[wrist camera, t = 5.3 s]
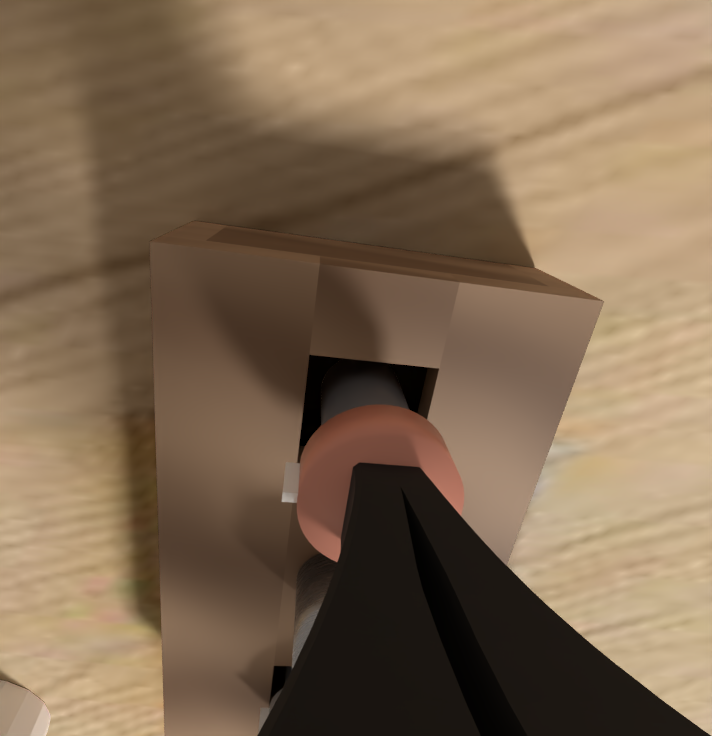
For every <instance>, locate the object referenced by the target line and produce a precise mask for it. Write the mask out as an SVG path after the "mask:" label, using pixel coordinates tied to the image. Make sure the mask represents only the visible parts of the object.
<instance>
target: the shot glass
mask: <svg viewBox="0 0 712 736" xmlns="http://www.w3.org/2000/svg"><path fill="white" fill-rule="evenodd" d="M50 719H51V715H50V713H49V711H48V709H47V707H46V705H45V702H43V701H42V700H41V699H40V698H38V697H37V696H36V695H34V694H33V693H32V692H31V691H29V690H27V689H25V688H22V687H20V686H17V685H15V684H12V683H10V682H7V681H2V680H0V736H46V734H47V731H48V728H49V724H50Z"/></svg>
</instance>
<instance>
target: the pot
mask: <svg viewBox="0 0 712 736" xmlns="http://www.w3.org/2000/svg"><path fill="white" fill-rule="evenodd" d="M336 564H337V562H336V561H334V560H331V559H330V558H328V557H326V556H325V555H323V554H322V553H319V554H316V555H314V556H312V557H311V558H309V559H308V560H307V561H306V562H305V563H304V564H303V565H302V566H301V568H300V569H299V571H298V574H297V579H296V598H295V617H294V635H293V654H292V669H293V667H294V665H295V663H296V660H297V658H298V656H299V654H300V652H301V650H302V648H303V645H304V643H305V641H306V639H307V637H308V635H309V633H310V630H311V628H312V626H313V624H314V621H315V619H316V616H317V614H318V612H319V609H320V607H321V605H322V602H323V600H324V597H325V595H326V592H327V590H328V587H329V584H330V582H331V579H332V576H333V574H334V570H335V567H336Z"/></svg>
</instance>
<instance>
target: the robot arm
mask: <svg viewBox="0 0 712 736" xmlns="http://www.w3.org/2000/svg"><path fill="white" fill-rule="evenodd" d="M257 736H711V735H709V734H708V733H706V732H705V731H703V730H702V729H701V728H699V727H698V726H697V725H695V724H694V723H692V722H691V721H690V720H688V719H687V718H686V717H684V716H683V715H681V714H680V713H679V712H677V711H676V710H675V709H673V708H672V707H671V706H669V705H668V704H666V703H665V702H664V701H662V700H661V699H660V698H658V697H657V696H656V695H655V694H653V693H652V692H651V691H650V690H648V689H647V688H646V687H644V686H643V685H642V684H641V683H639V682H638V681H637V680H635V679H634V678H633V677H632V676H630V675H629V674H628V673H626V672H625V671H624V670H623V669H621V668H620V667H619V666H617V665H616V664H615V663H614V662H612V661H611V660H610V659H609V658H607V657H606V656H605V655H604V654H603V653H601V652H600V651H599V650H598V649H597V648H595V647H594V646H593V645H592V644H590V643H589V642H588V641H587V640H586V639H585V638H583V637H582V636H581V635H580V634H579V633H578V632H577V631H576V630H574V629H573V628H572V627H571V626H570V625H569V624H568V623H566V622H565V621H564V620H563V619H562V618H561V617H560V616H559V615H557V614H556V613H555V612H554V611H553V610H552V609H551V608H549V607H548V606H547V605H546V604H545V603H544V602H543V601H542V600H541V599H540V598H539V597H538V596H537V595H536V594H534V593H533V592H532V591H531V590H530V589H529V588H528V587H527V586H526V585H525V584H524V583H523V582H522V581H521V580H520V579H519V578H518V577H517V576H516V575H515V574H514V573H513V572H512V571H511V570H510V569H509V568H508V567H507V566H506V565H505V564H504V563H503V562H502V561H501V560H500V558H499V557H498V556H497V555H496V554H495V553H494V552H493V551H492V550H491V549H490V548H489V547H488V546H487V545H486V544H485V542H484V541H483V540H482V539H481V538H480V537H479V536H478V535H477V534H476V533H475V531H474V530H473V529H472V528H471V527H470V526H469V525H468V524H467V522H466V521H465V520H464V519H463V518H462V517H461V515H460V514H459V513H458V512H457V511H456V510H455V508H454V507H453V506H452V505H451V504H450V502H449V501H448V500H447V499H446V498H445V497H444V495H443V494H442V493H441V492H440V491H439V489H438V488H437V487H436V486H435V485H434V483H433V482H432V481H431V480H430V479H429V477H428V476H427V475H426V474H425V473H424V471H423V470H422V469H421V468H420V467H413V466H400V465H387V464H375V463H362V462H359V463H358V464H356V465H355V466H353V470H352V476H351V482H350V487H349V493H348V499H347V505H346V511H345V516H344V522H343V528H342V534H341V551H340V555H339V558H338V561H337V564H336V567H335V570H334V574H333V576H332V579H331V582H330V584H329V587H328V590H327V592H326V595H325V597H324V600H323V602H322V605H321V607H320V609H319V612H318V614H317V616H316V619H315V621H314V624H313V626H312V628H311V630H310V633H309V635H308V637H307V639H306V641H305V643H304V645H303V648H302V650H301V652H300V654H299V656H298V658H297V660H296V663H295V665H294V667H293V669H292V671H291V673H290V675H289V677H288V679H287V681H286V683H285V685H284V687H283V689H282V691H281V693H280V695H279V697H278V698H277V700H276V702H275V704H274V706H273V708H272V710H271V711H270V713H269V715H268V717H267V719H266V721H265V722H264V724H263V726H262V728H261V730H260V732H259V734H258V735H257Z"/></svg>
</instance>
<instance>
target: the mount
mask: <svg viewBox="0 0 712 736" xmlns="http://www.w3.org/2000/svg"><path fill="white" fill-rule="evenodd" d="M150 274H151V307H152V339H153V372H154V404H155V437H156V470H157V502H158V535H159V567H160V600H161V633H162V665H163V698H164V730H165V736H257V735H258V730H259V721H260V711H261V708H269V706H270V703H271V700H272V699H273V697H274V696H275V694H276V693H277V692H278V691H280V690H281V689H282V688H283V687H284V685H285V673H286V666H292V654H293V635H294V617H295V598H296V579H297V574H298V571H299V569H300V568H301V566H302V565H303V564H304V563H305V562H306V561H307V560H308V559H309V558H311V557H312V556H314V555H316V554H319V553H320V552H319V551H318V550H317V549H315V548H314V547H313V546H312V544H311V543H310V542H309V541H308V540H307V538H306V537H305V535H304V533H303V531H302V529H301V527H300V524H299V521H298V516H297V503H292V502H282V493H283V484H284V475H285V466H286V462H290V463H300V459H301V455H302V453H303V450H304V448H305V446H299V441H300V433H301V424H302V415H303V406H304V398H305V389H306V380H307V371H308V363H309V355H317V356H326V357H336V358H345V359H354V360H364V361H373V362H383V363H392V364H401V365H411V366H420V367H428V369H427V373H426V378H425V382H424V386H423V391H422V395H421V400H420V404H419V408H418V413H417V414H419V415H421V416H422V417H424V418H425V419H427V420H428V421H429V422H430V423H432V424H433V425H434V427H435V428H436V429H437V430H438V431H439V433H440V434H441V436H442V437H443V439H444V441H445V444H446V446H447V448H448V450H449V452H450V455H451V457H452V459H453V461H454V463H455V466H456V468H457V470H458V472H459V475H460V477H461V479H462V483H463V487H464V506H463V510H462V514H461V517H462V518H463V519H464V520H465V521H466V522H467V524H468V525H469V526H470V527H471V528H472V529H473V530H474V531H475V533H476V534H477V535H478V536H479V537H480V538H481V539H482V540H483V541H484V542H485V544H486V545H487V546H488V547H489V548H490V549H491V550H492V551H493V552H494V553H495V554H496V555H497V556H498V557H499V558H500V560H501V561H502V562H503V563H504V564H505V565H506V566H507V563H508V560H509V558H510V555H511V552H512V549H513V547H514V544H515V541H516V539H517V536H518V533H519V531H520V528H521V525H522V522H523V520H524V517H525V514H526V512H527V509H528V506H529V503H530V501H531V498H532V495H533V493H534V490H535V487H536V484H537V482H538V479H539V476H540V474H541V471H542V468H543V466H544V463H545V460H546V457H547V455H548V452H549V449H550V447H551V444H552V441H553V438H554V436H555V433H556V430H557V428H558V425H559V422H560V420H561V417H562V414H563V411H564V409H565V406H566V403H567V401H568V398H569V395H570V392H571V390H572V387H573V384H574V382H575V379H576V376H577V373H578V371H579V368H580V365H581V363H582V360H583V357H584V355H585V352H586V349H587V346H588V344H589V341H590V338H591V336H592V333H593V330H594V327H595V325H596V322H597V319H598V317H599V314H600V311H601V309H602V306H603V303H604V301H602V300H600V299H598V298H596V297H594V296H592V295H590V294H588V293H586V292H584V291H582V290H580V289H578V288H576V287H574V286H572V285H570V284H568V283H565V282H563V281H561V280H559V279H557V278H555V277H553V276H551V275H549V274H547V273H545V272H543V271H541V270H539V269H537V268H531V267H524V266H516V265H509V264H502V263H495V262H488V261H480V260H473V259H466V258H459V257H452V256H444V255H437V254H430V253H423V252H416V251H408V250H401V249H394V248H387V247H380V246H372V245H365V244H358V243H351V242H344V241H336V240H329V239H322V238H315V237H308V236H300V235H293V234H286V233H279V232H272V231H264V230H257V229H250V228H243V227H236V226H228V225H221V224H214V223H207V222H200V221H192V222H190V223H188V224H186V225H184V226H181V227H179V228H177V229H175V230H173V231H171V232H169V233H166V234H164V235H162V236H160V237H158V238H156V239H154V240H151V241H150Z"/></svg>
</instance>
